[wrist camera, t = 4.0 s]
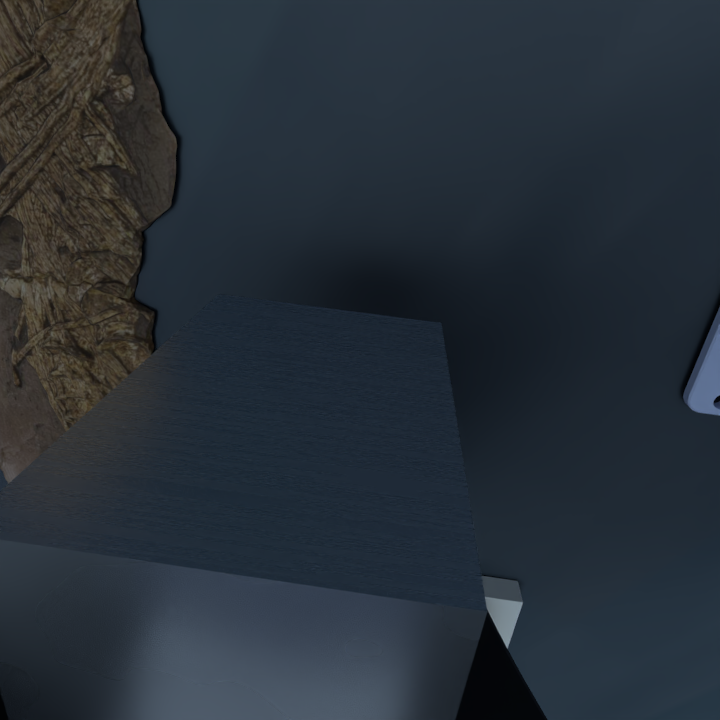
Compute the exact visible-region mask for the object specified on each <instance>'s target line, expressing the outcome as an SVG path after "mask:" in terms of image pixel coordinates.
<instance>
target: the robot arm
mask: <svg viewBox="0 0 720 720" xmlns="http://www.w3.org/2000/svg"><path fill="white" fill-rule="evenodd" d="M719 395H720V307H719V310H718V312H717V314H716V317H715V319H714V321H713V324H712V326H711V329H710V331H709V333H708V336H707V338H706V341H705V343H704V345H703V348H702V350H701V352H700V355H699V357H698V360H697V362H696V364H695V367H694V369H693V372H692V374H691V376H690V379H689V381H688V383H687V386H686V388H685V391H684V395H683V399H684V402H685V403H686V404H687V405H688V406H689V407H690V408H691V409H692V410H693V411H695V412H699V413H705V414H713V415H720V401H719V402H717V403H714V400H715V398H716V397H717V396H719ZM0 720H8V716H7V713H6V710H5V706H4V703H3V699H2V696H1V692H0ZM455 720H547V718H546V716H545V715H544V713H543V711H542V710H541V708H540V706H539V705H538V703H537V701H536V699H535V698H534V696H533V694H532V692H531V691H530V689H529V687H528V686H527V684H526V682H525V680H524V679H523V677H522V675H521V673H520V671H519V670H518V668H517V666H516V664H515V662H514V660H513V659H512V657H511V655H510V653H509V651H508V649H507V647H506V645H505V643H504V641H503V639H502V637H501V636H500V634H499V632H498V630H497V628H496V626H495V624H494V622H493V620H492V618H491V616H490V614H489V612H488V610H487V615H486V618H485V621H484V625H483V628H482V631H481V635H480V638H479V641H478V645H477V648H476V652H475V655H474V658H473V662H472V665H471V668H470V672H469V675H468V678H467V682H466V685H465V688H464V692H463V695H462V698H461V702H460V705H459V708H458V712H457V715H456V718H455Z"/></svg>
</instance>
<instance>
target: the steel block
mask: <svg viewBox="0 0 720 720" xmlns="http://www.w3.org/2000/svg"><path fill="white" fill-rule="evenodd" d="M486 615H487V607H486V601H485V594H484V588H483V582H482V576H481V569H480V563H479V557H478V550H477V544H476V538H475V531H474V525H473V519H472V513H471V506H470V500H469V494H468V487H467V481H466V475H465V468H464V462H463V456H462V450H461V443H460V437H459V431H458V424H457V418H456V412H455V406H454V399H453V393H452V387H451V380H450V374H449V368H448V361H447V355H446V349H445V343H444V336H443V330H442V324H441V323H439V322H431V321H424V320H416V319H408V318H401V317H393V316H385V315H378V314H370V313H362V312H355V311H347V310H339V309H332V308H324V307H316V306H309V305H301V304H293V303H285V302H278V301H270V300H262V299H255V298H247V297H239V296H232V295H224V294H218V295H217V296H216V297H215V298H214V299H213V300H212V301H211V302H210V303H208V304H207V305H206V306H205V307H204V308H203V309H202V310H201V311H200V312H198V313H197V314H196V315H195V316H194V317H193V318H192V319H191V320H190V321H188V322H187V323H186V324H185V325H184V326H183V327H182V328H181V329H180V330H178V331H177V332H176V333H175V334H174V335H173V336H172V337H171V338H170V339H168V340H167V341H166V342H165V343H164V344H163V345H162V346H161V347H160V348H158V349H157V350H156V351H155V352H154V353H153V354H152V355H151V356H150V357H148V358H147V359H146V360H145V361H144V362H143V363H142V364H141V365H140V366H139V367H137V368H136V369H135V370H134V371H133V372H132V373H131V374H130V375H129V376H127V377H126V378H125V379H124V380H123V381H122V382H121V383H120V384H119V385H117V386H116V387H115V388H114V389H113V390H112V391H111V392H110V393H109V394H107V395H106V396H105V397H104V398H103V399H102V400H101V401H100V402H99V403H97V404H96V405H95V406H94V407H93V408H92V409H91V410H90V411H89V412H87V413H86V414H85V415H84V416H83V417H82V418H81V419H80V420H79V421H77V422H76V423H75V424H74V425H73V426H72V427H71V428H70V429H69V430H67V431H66V432H65V433H64V434H63V435H62V436H61V437H60V438H59V439H57V440H56V441H55V442H54V443H53V444H52V445H51V446H50V447H49V448H48V449H46V450H45V451H44V452H43V453H42V454H41V455H40V456H39V457H38V458H36V459H35V460H34V461H33V462H32V463H31V464H30V465H29V466H28V467H26V468H25V469H24V470H23V471H22V472H21V473H20V474H19V475H18V476H16V477H15V478H14V479H13V480H12V481H11V482H10V483H9V484H8V485H6V486H5V487H4V488H3V489H2V490H1V491H0V692H1V696H2V699H3V703H4V706H5V710H6V713H7V716H8V720H455V718H456V715H457V712H458V708H459V705H460V702H461V698H462V695H463V692H464V688H465V685H466V682H467V678H468V675H469V672H470V668H471V665H472V662H473V658H474V655H475V652H476V648H477V645H478V641H479V638H480V635H481V631H482V628H483V625H484V621H485V618H486Z"/></svg>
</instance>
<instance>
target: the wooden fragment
mask: <svg viewBox="0 0 720 720" xmlns="http://www.w3.org/2000/svg"><path fill="white" fill-rule="evenodd" d="M140 35H141V24H140V17H139V11H138V8H137V4H136V0H0V469H1V470H2V471H3V473H4V477H5V479H6V480H7V482H8V483H10V482H11V481H12V480H13V479H14V478H15V477H16V476H18V475H19V474H20V473H21V472H22V471H23V470H24V469H25V468H26V467H28V466H29V465H30V464H31V463H32V462H33V461H34V460H35V459H36V458H38V457H39V456H40V455H41V454H42V453H43V452H44V451H45V450H46V449H48V448H49V447H50V446H51V445H52V444H53V443H54V442H55V441H56V440H57V439H59V438H60V437H61V436H62V435H63V434H64V433H65V432H66V431H67V430H69V429H70V428H71V427H72V426H73V425H74V424H75V423H76V422H77V421H79V420H80V419H81V418H82V417H83V416H84V415H85V414H86V413H87V412H89V411H90V410H91V409H92V408H93V407H94V406H95V405H96V404H97V403H99V402H100V401H101V400H102V399H103V398H104V397H105V396H106V395H107V394H109V393H110V392H111V391H112V390H113V389H114V388H115V387H116V386H117V385H119V384H120V383H121V382H122V381H123V380H124V379H125V378H126V377H127V376H129V375H130V374H131V373H132V372H133V371H134V370H135V369H136V368H137V367H139V366H140V365H141V364H142V363H143V362H144V361H145V360H146V359H147V358H148V357H150V356H151V354H152V352H153V350H154V344H153V340H152V330H153V325H154V319H155V312H154V311H152V310H151V309H149V308H147V307H146V306H144V305H142V304H141V303H139V302H137V301H136V300H135V296H134V292H135V288H136V286H137V275H138V274H139V272H140V267H141V261H142V244H143V242H144V238H143V236H142V231H144V230H145V229H147V228H148V227H150V226H151V225H152V223H153V222H154V221H155V220H156V219H158V218H159V217H160V216H161V215H162V213H164V212H165V211H167V210H168V209H169V208H170V206H171V200H172V196H173V192H174V185H175V179H176V150H177V142H176V137H175V135H174V133H173V132H172V131H171V130H170V128H169V126H168V124H167V123H166V121H165V119H164V117H163V115H162V107H161V103H160V97H159V91H158V88H157V86H156V84H155V82H154V80H153V77H152V75H151V72H150V68H149V64H148V60H147V56H146V54H145V52H144V48H143V44H142V41H141V38H140Z"/></svg>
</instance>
